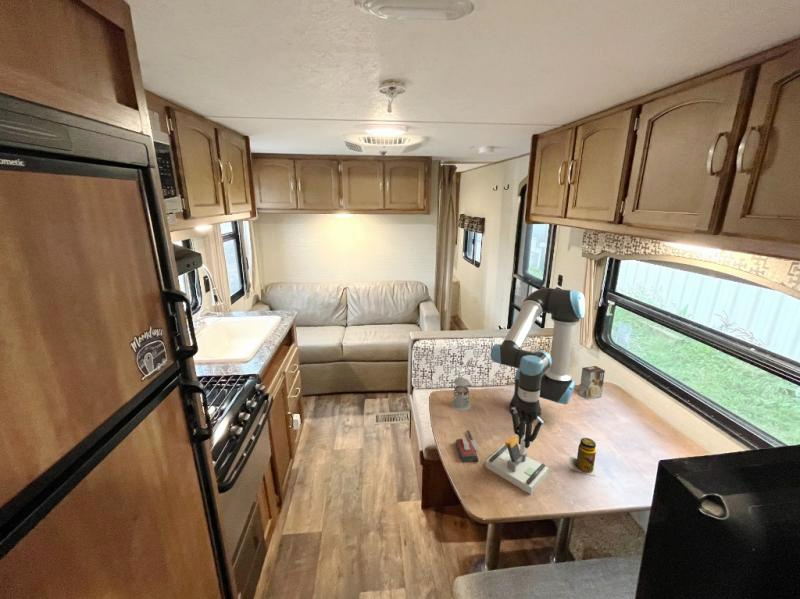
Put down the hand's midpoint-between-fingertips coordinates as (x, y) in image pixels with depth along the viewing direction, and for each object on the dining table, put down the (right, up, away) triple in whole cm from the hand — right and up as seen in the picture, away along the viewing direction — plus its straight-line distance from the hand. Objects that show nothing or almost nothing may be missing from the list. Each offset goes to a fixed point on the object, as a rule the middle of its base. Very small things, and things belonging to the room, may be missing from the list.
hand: (523, 452), depth 129 cm
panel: (-1, -9, +4) cm, 10 cm away
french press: (-15, +3, +51) cm, 53 cm away
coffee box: (+58, +5, +58) cm, 82 cm away
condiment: (+26, -8, +6) cm, 28 cm away
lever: (-1, -4, +3) cm, 6 cm away
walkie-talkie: (-18, -6, +18) cm, 26 cm away
